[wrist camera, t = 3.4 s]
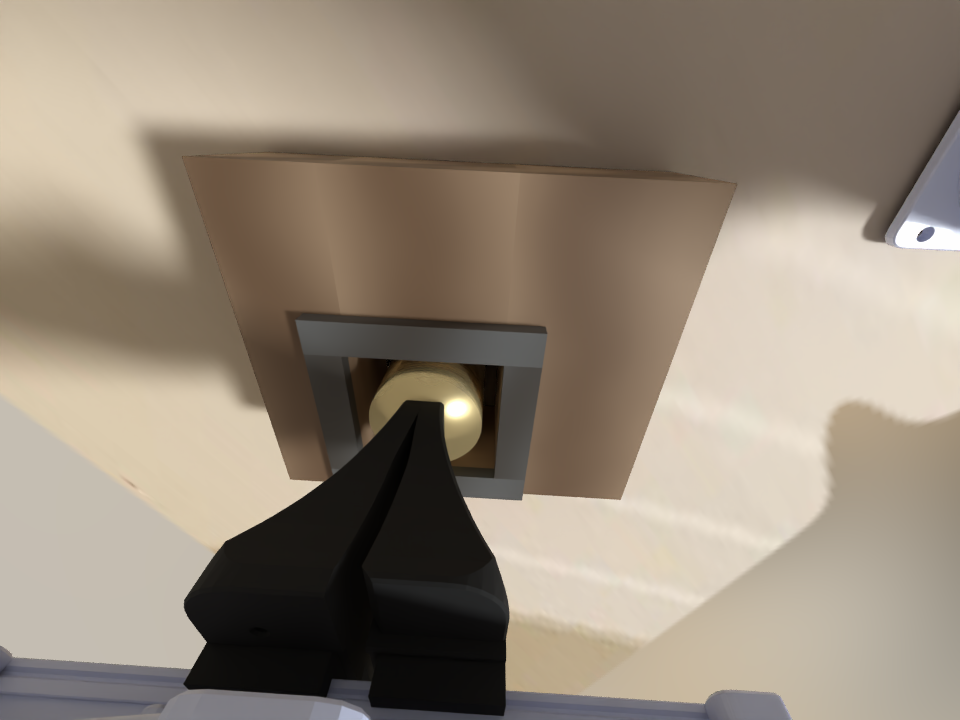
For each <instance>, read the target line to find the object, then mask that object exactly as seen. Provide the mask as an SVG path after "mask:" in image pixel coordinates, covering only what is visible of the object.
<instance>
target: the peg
mask: <svg viewBox="0 0 960 720" xmlns="http://www.w3.org/2000/svg"><path fill="white" fill-rule="evenodd" d="M484 377H485V365H482V364H464V363H446V362H429V361H411V360H393V359H392V361H391V363H390V365H389V367H388V369H387V371H386V374H385V376H384V378H383V380H382V382H381V384H380V386H379V388H378V390H377V392H376V394H375V396H374V399H373V401H372V403H371V406H370V409H369V421H370V425H371V428H372V430H373V432H374V434H375V435H376V434H377V433H378V432H379V431H380V430H381V429H382V427H383V426H384V425H385V424H386V423H387V422H388V421H389V419H390V418H391V417H392V416H393V415H394V414H395V412H396V411H397V410H398V409H399V407H400V406H401V405H402V404H403V402H405V401H406V400H413V401H430V402H442V403H443V404H444V427H445V441H446V446H447V451H448V455H449V458H450V461H452V460H455V459H457V458H459V457H461V456H463V455H465V454H466V453H467V452H469V451H470V450H471V449H472V448H473V447H474V445H475V444H476V443H477V441H478V439H479V437H480V434H481V429H482V414H483V395H484Z"/></svg>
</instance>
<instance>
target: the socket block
mask: <svg viewBox="0 0 960 720" xmlns="http://www.w3.org/2000/svg"><path fill="white" fill-rule="evenodd" d="M182 158H183V161H184V164H185V167H186V170H187V173H188V176H189V179H190V182H191V185H192V188H193V191H194V194H195V197H196V200H197V203H198V206H199V209H200V212H201V215H202V218H203V221H204V224H205V227H206V230H207V233H208V236H209V239H210V242H211V245H212V248H213V251H214V254H215V257H216V260H217V262H218V265H219V268H220V271H221V274H222V277H223V280H224V283H225V286H226V289H227V292H228V295H229V298H230V301H231V304H232V307H233V310H234V313H235V316H236V319H237V322H238V325H239V328H240V331H241V334H242V337H243V340H244V343H245V346H246V349H247V352H248V355H249V358H250V361H251V364H252V367H253V370H254V373H255V376H256V379H257V382H258V385H259V388H260V391H261V394H262V397H263V400H264V403H265V406H266V409H267V412H268V415H269V418H270V421H271V424H272V427H273V429H274V432H275V435H276V438H277V441H278V444H279V447H280V450H281V453H282V456H283V459H284V462H285V465H286V468H287V471H288V474H289V477H290V479H292V480H308V481H326V480H327V479H328V478H330V477H331V476H332V475H333V474H335V473H336V472H337V471H338V470H339V469H341V468H342V467H343V466H344V465H345V464H346V463H348V462H349V461H350V460H351V459H352V458H353V457H354V456H355V455H356V454H357V453H358V452H359V451H360V450H361V449H362V448H363V447H364V446H365V445H366V444H368V443H369V442H370V440H371V439H372V438H373V437H374V436H375V434H374V432H373V430H372V428H371V425H370V421H369V409H370V406H371V403H372V401H373V399H374V396H375V394H376V392H377V390H378V388H379V386H380V384H381V382H382V380H383V378H384V376H385V374H386V371H387V362H386V359H393V360H411V361H429V362H446V363H464V364H482V365H498V373H497V386H496V398H495V406H483V414H482V429H481V434H480V437H479V439H478V441H477V443H476V444H475V445H474V447H473V448H472V449H471V450H470V451H469V452H467V453H466V454H465V455H463V456H461V457H459V458H457V459H455V460H452V461H450V462H451V465H452V469H453V472H454V475H455V478H456V481H457V483H458V486H459V489H460V491H461V494H462V496H463V497H473V498H489V499H505V500H522V496H523V494H536V495H552V496H568V497H585V498H601V499H617V500H621V497H622V495H623V492H624V489H625V487H626V484H627V481H628V478H629V476H630V473H631V470H632V468H633V465H634V462H635V459H636V457H637V454H638V451H639V449H640V446H641V443H642V440H643V438H644V435H645V432H646V430H647V427H648V424H649V422H650V419H651V416H652V413H653V411H654V408H655V405H656V403H657V400H658V397H659V394H660V392H661V389H662V386H663V384H664V381H665V378H666V376H667V373H668V370H669V367H670V365H671V362H672V359H673V357H674V354H675V351H676V348H677V346H678V343H679V340H680V338H681V335H682V332H683V330H684V327H685V324H686V321H687V319H688V316H689V313H690V311H691V308H692V305H693V302H694V300H695V297H696V294H697V292H698V289H699V286H700V283H701V281H702V278H703V275H704V273H705V270H706V267H707V265H708V262H709V259H710V256H711V254H712V251H713V248H714V246H715V243H716V240H717V237H718V235H719V232H720V229H721V227H722V224H723V221H724V219H725V216H726V213H727V210H728V208H729V205H730V202H731V200H732V197H733V194H734V191H735V189H736V186H737V184H735V183H730V182H724V181H719V180H713V179H708V178H702V177H696V176H691V175H685V174H680V173H674V172H661V171H641V170H621V169H601V168H580V167H560V166H540V165H519V164H499V163H479V162H458V161H438V160H418V159H398V158H377V157H357V156H337V155H316V154H296V153H276V152H259V153H239V154H218V155H198V156H182Z"/></svg>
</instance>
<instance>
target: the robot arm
mask: <svg viewBox="0 0 960 720" xmlns="http://www.w3.org/2000/svg"><path fill="white" fill-rule="evenodd" d="M921 230H923V231H922V233H921V234H920V235H919V236H918V237H917V235H918V233H919V232H920V231H921ZM916 237H917V238H916ZM885 242H886V243H887V244H888V245H891V246H894V247H898V248H908V249H927V250H947V251H960V110H959V112H958V114H957V115H956V117H955V119H954V120H953V122H952V124H951V125H950V127H949V129H948V130H947V132H946V134H945V135H944V137H943V139H942V140H941V142H940V144H939V145H938V147H937V149H936V150H935V152H934V154H933V155H932V157H931V159H930V160H929V162H928V164H927V165H926V167H925V169H924V170H923V172H922V174H921V175H920V177H919V179H918V180H917V182H916V184H915V185H914V187H913V189H912V190H911V192H910V194H909V195H908V197H907V199H906V200H905V202H904V204H903V205H902V207H901V209H900V210H899V212H898V214H897V215H896V217H895V219H894V220H893V222H892V224H891V225H890V227H889V229H888V230H887V233H886V235H885ZM184 609H185V612H186V614H187V616H188V618H189V619H190V621H191V622H192V623H193V624H194V626H195V627H196V629H197V630H198V631H199V632H200V634H201V635H202V636H203V638H204V639H205V640H206V642H207V643H206V645H205V647H204V649H203V650H202V652H201V654H200V656H199V657H198V659H197V661H196V662H195V664H194V666H193V668H192V669H179V668H163V667H148V666H134V665H119V664H104V663H89V662H74V661H59V660H45V659H29V658H15V657H12V654H11V653H10V652H9V651H8V650H6V649H5V648H4V647H2V646H0V720H792V718H791V716H790V714H789V712H788V710H787V708H786V707H785V704H784V702H783V700H782V698H781V697H780V696H779V695H777V694H776V693H770V692H756V691H741V690H722V691H717V692H715V693H713V694H711V695H710V696H709V697H708V699H707V701H706V703H705V704H699V703H698V704H697V703H683V702H669V701H668V702H667V701H654V700H639V699H638V700H637V699H624V698H610V697H594V696H580V695H565V694H550V693H535V692H520V691H506V680H505V663H506V635H507V629H508V623H509V605H508V599H507V595H506V591H505V587H504V584H503V581H502V577H501V574H500V571H499V568H498V565H497V562H496V559H495V556H494V555H493V553H492V552H491V550H490V548H489V547H488V545H487V543H486V542H485V540H484V538H483V537H482V535H481V533H480V531H479V529H478V527H477V526H476V524H475V522H474V520H473V518H472V516H471V513H470V511H469V509H468V507H467V505H466V503H465V501H464V498H463V496H462V494H461V491H460V489H459V486H458V483H457V481H456V478H455V475H454V472H453V469H452V465H451V462H450V458H449V455H448V451H447V446H446V441H445V427H444V404H443V403H442V402H430V401H413V400H406V401H405V402H403V404H402V405H401V406H400V407H399V409H398V410H397V411H396V412H395V414H394V415H393V416H392V417H391V418H390V419H389V421H388V422H387V423H386V424H385V425H384V426H383V427H382V429H381V430H380V431H379V432H378V433H377V434H376V435H375V436H374V437H373V438H372V439H371V440H370V442H369V443H368V444H366V445H365V446H364V447H363V448H362V449H361V450H360V451H359V452H358V453H357V454H356V455H355V456H354V457H353V458H352V459H351V460H350V461H349V462H348V463H346V464H345V465H344V466H343V467H342V468H341V469H339V470H338V471H337V472H336V473H335V474H333V475H332V476H331V477H330V478H328V479H327V480H326V481H324V482H323V483H322V484H321V485H319V486H318V487H317V488H315V489H314V490H312V491H311V492H310V493H308V494H307V495H305V496H304V497H303V498H301V499H300V500H298V501H296V502H295V503H293V504H292V505H290V506H289V507H287V508H285V509H284V510H282V511H280V512H279V513H277V514H275V515H274V516H272V517H270V518H269V519H267V520H265V521H263V522H262V523H260V524H258V525H256V526H254V527H252V528H250V529H249V530H247V531H245V532H243V533H241V534H239V535H237V536H235V537H233V538H231V539H229V540H227V541H226V542H225V543H224V544H223V545H222V547H221V548H220V549H219V551H218V552H217V553H216V554H215V556H214V557H213V559H212V560H211V561H210V563H209V564H208V566H207V567H206V569H205V570H204V571H203V573H202V575H201V576H200V577H199V579H198V580H197V582H196V583H195V585H194V586H193V588H192V589H191V591H190V592H189V594H188V595H187V597H186V598H185V600H184Z"/></svg>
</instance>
